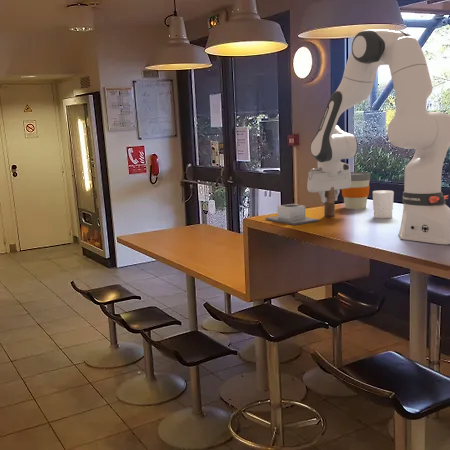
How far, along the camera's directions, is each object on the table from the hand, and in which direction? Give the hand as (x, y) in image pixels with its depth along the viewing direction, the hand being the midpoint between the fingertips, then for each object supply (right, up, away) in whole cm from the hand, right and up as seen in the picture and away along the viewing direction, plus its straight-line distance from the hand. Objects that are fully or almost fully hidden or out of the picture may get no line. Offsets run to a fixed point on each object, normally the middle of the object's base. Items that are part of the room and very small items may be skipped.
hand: (329, 201), depth 221 cm
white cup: (+20, -6, -4) cm, 21 cm away
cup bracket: (-15, -8, -4) cm, 18 cm away
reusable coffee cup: (+15, -2, +22) cm, 27 cm away
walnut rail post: (0, -6, +1) cm, 6 cm away
